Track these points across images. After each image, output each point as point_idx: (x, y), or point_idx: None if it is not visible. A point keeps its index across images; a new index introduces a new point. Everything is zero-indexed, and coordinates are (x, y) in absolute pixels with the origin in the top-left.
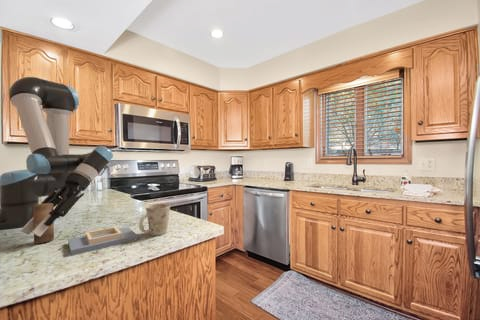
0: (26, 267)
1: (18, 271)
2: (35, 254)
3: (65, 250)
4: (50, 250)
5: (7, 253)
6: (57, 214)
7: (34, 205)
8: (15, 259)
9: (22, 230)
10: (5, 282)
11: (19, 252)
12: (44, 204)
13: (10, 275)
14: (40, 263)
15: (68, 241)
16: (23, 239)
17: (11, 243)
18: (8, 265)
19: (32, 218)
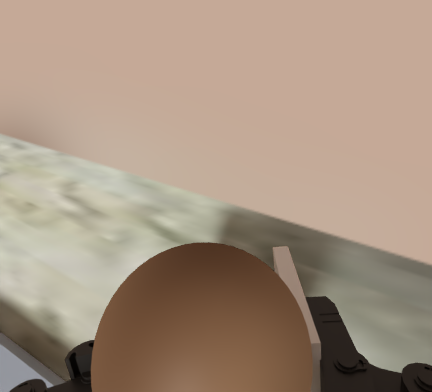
0: (28, 186)
1: (27, 168)
2: (101, 246)
3: (12, 318)
4: (79, 293)
5: (223, 209)
6: (47, 389)
7: (262, 270)
8: (127, 198)
9: (273, 251)
10: (4, 136)
11: (188, 232)
12: (208, 367)
13: (27, 152)
14: (9, 215)
15: (44, 374)
16: (403, 332)
17: (373, 271)
18: (99, 172)
19: (296, 300)
